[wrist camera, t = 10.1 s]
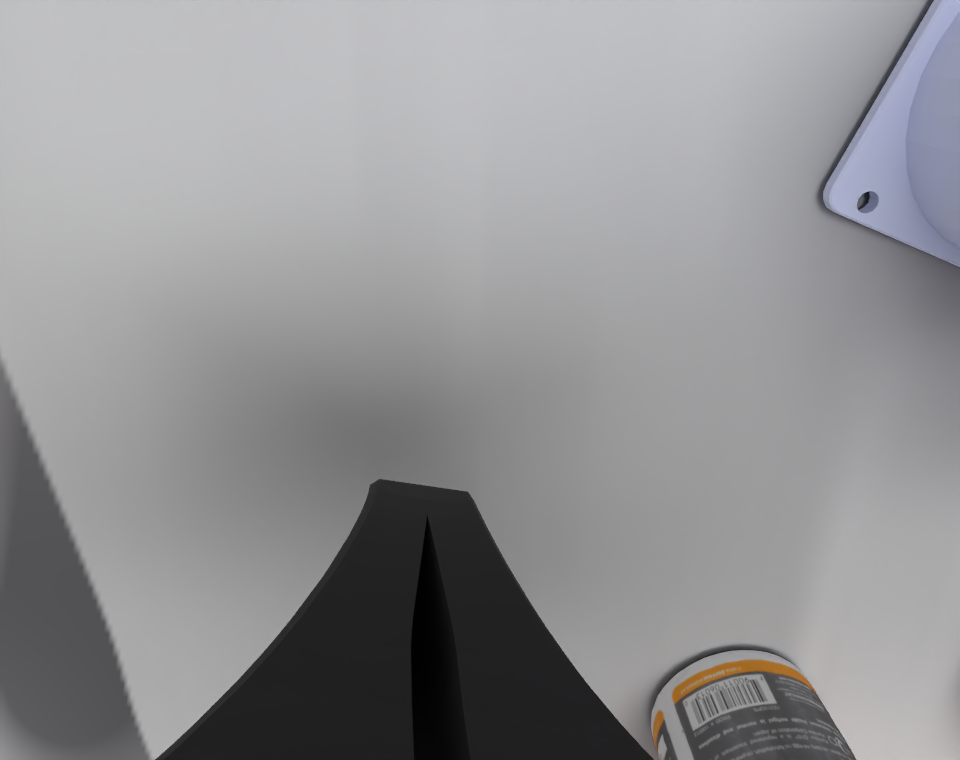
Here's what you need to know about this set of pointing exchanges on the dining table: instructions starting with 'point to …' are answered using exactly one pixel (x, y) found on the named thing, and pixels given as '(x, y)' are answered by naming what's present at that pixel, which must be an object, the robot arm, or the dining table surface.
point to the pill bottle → (744, 712)
